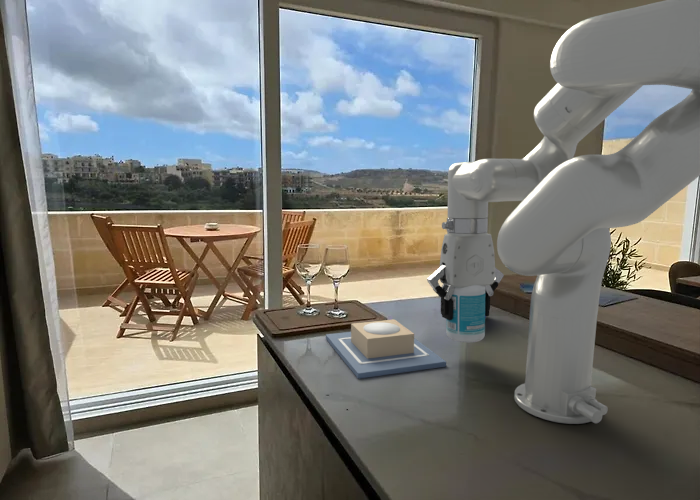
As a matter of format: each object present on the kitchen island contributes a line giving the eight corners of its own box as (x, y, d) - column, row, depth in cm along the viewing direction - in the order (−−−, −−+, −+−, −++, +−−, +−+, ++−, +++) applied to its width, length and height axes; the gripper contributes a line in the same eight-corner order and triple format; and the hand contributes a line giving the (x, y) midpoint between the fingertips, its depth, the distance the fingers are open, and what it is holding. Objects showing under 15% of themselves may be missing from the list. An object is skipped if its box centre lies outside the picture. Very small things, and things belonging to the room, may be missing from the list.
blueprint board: (446, 366, 91) (447, 341, 90) (358, 378, 85) (358, 351, 84) (399, 330, 111) (399, 310, 110) (325, 338, 106) (325, 316, 105)
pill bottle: (489, 335, 94) (491, 269, 93) (478, 346, 88) (479, 275, 87) (453, 330, 98) (454, 266, 97) (440, 339, 92) (441, 272, 91)
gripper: (436, 230, 84) (435, 326, 87) (517, 227, 90) (514, 317, 92) (417, 227, 91) (417, 315, 94) (493, 224, 97) (491, 308, 99)
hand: (465, 315), depth 93 cm, fingers closed on pill bottle, 7 cm apart
